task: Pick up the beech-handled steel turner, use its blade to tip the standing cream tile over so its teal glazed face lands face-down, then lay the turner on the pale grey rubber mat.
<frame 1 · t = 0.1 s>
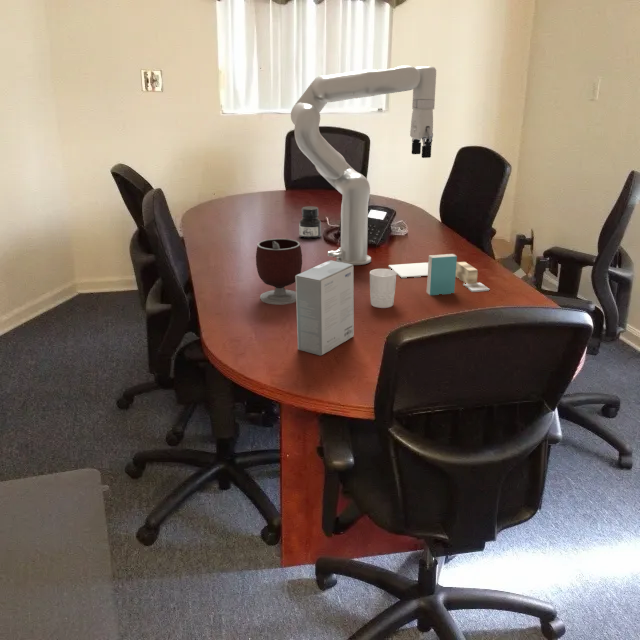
hand: (421, 155, 236), 37 cm above the table, tool pointing down, fingers open, 9 cm apart
white cup: (382, 305, 201), on the table
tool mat: (427, 270, 233), on the table
ink bottle: (310, 237, 278), on the table
hard drive box: (326, 343, 173), on the table
turner: (465, 280, 222), on the table
mate gourd: (279, 299, 206), on the table
tile: (440, 292, 210), on the table
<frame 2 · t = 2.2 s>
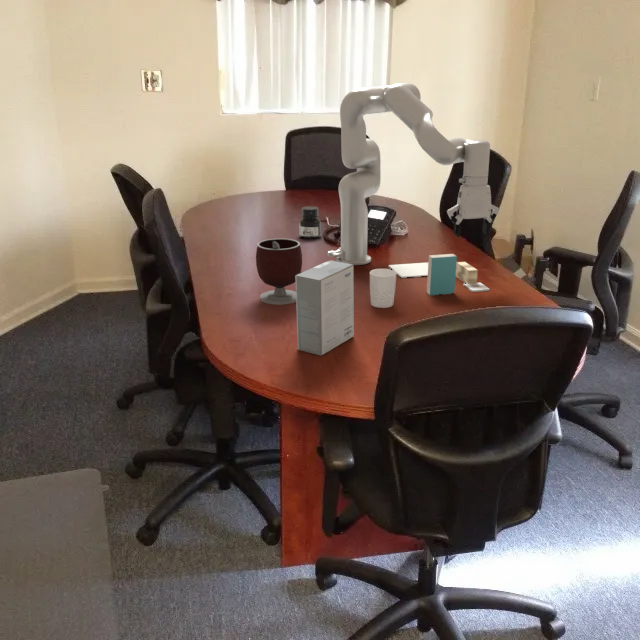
hand: (471, 235, 215), 16 cm above the table, tool pointing down, fingers open, 9 cm apart
nothing on the table moved.
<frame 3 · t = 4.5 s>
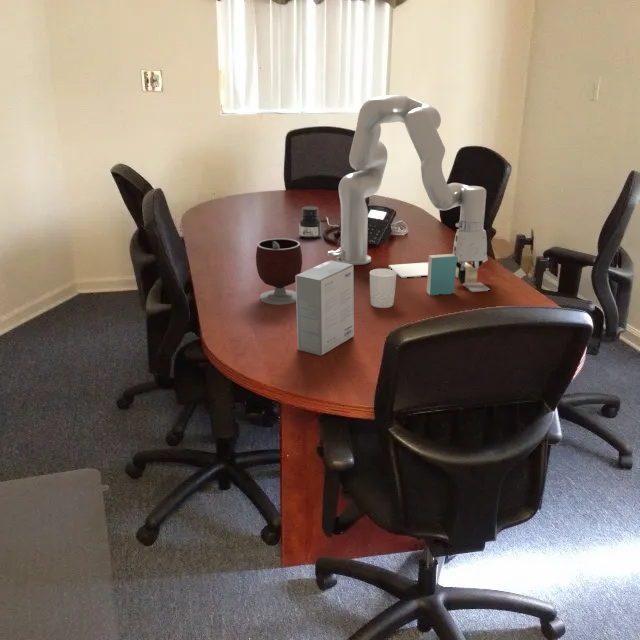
hand: (467, 280, 221), 0 cm above the table, tool pointing down, fingers closed on turner, 3 cm apart
turner: (465, 280, 222), on the table, touching gripper
everything else where it was.
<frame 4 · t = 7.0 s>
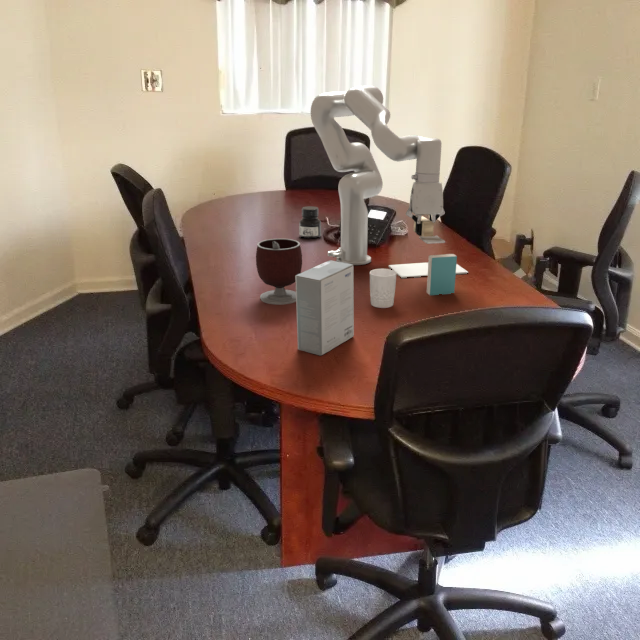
hand: (424, 234, 220), 15 cm above the table, tool pointing down, fingers closed on turner, 3 cm apart
turner: (423, 234, 221), point 14 cm above the table, touching gripper
everything else where it was.
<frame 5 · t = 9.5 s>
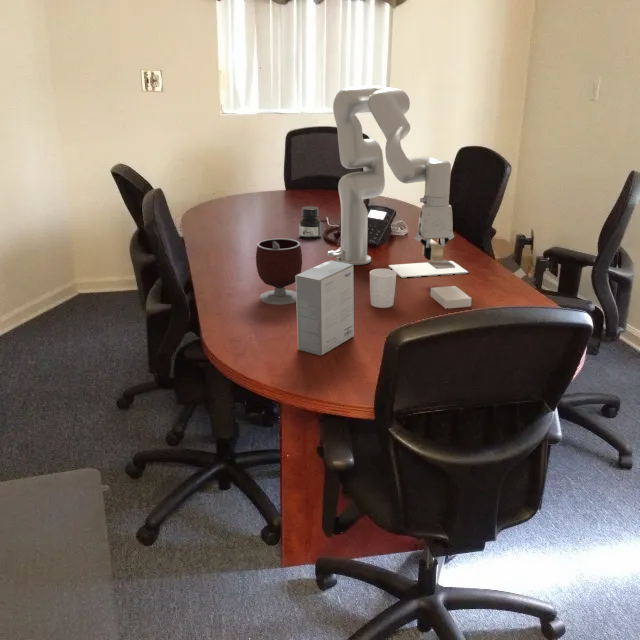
hand: (433, 258, 214), 9 cm above the table, tool pointing down, fingers closed on turner, 3 cm apart
turner: (431, 258, 215), point 9 cm above the table, touching gripper
tile: (442, 291, 208), point 1 cm above the table, tilted 90°
everything else where it was.
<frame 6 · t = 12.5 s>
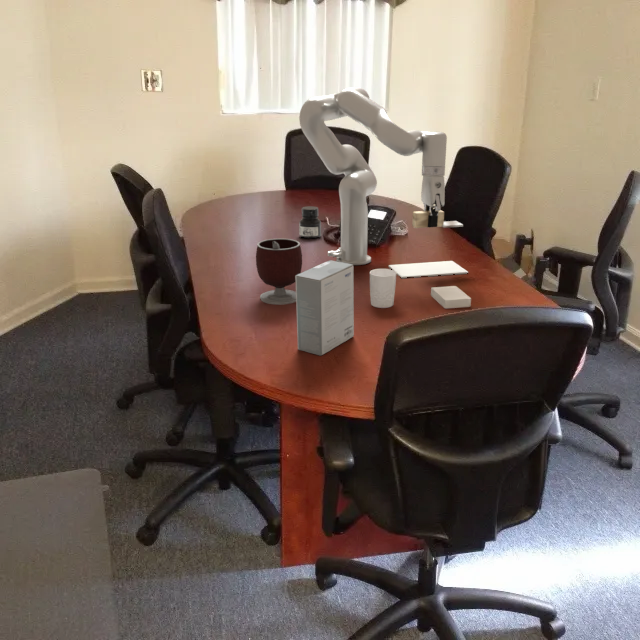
hand: (430, 225, 228), 16 cm above the table, tool pointing down, fingers closed on turner, 3 cm apart
turner: (427, 226, 227), point 16 cm above the table, touching gripper
everything else where it was.
when the fingers open (2 cm above the table, at t = 15.0 s): turner drops 2 cm, resting on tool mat.
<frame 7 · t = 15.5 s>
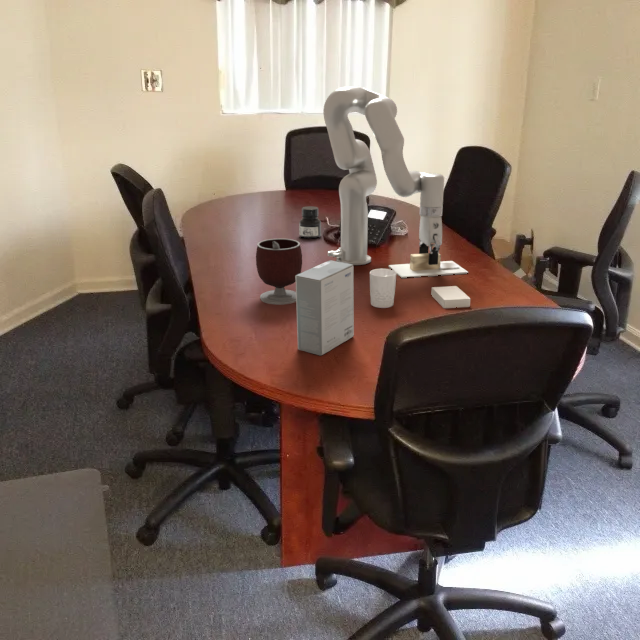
hand: (428, 260, 232), 3 cm above the table, tool pointing down, fingers open, 8 cm apart
turner: (424, 268, 233), point 1 cm above the table, touching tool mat
everything else where it was.
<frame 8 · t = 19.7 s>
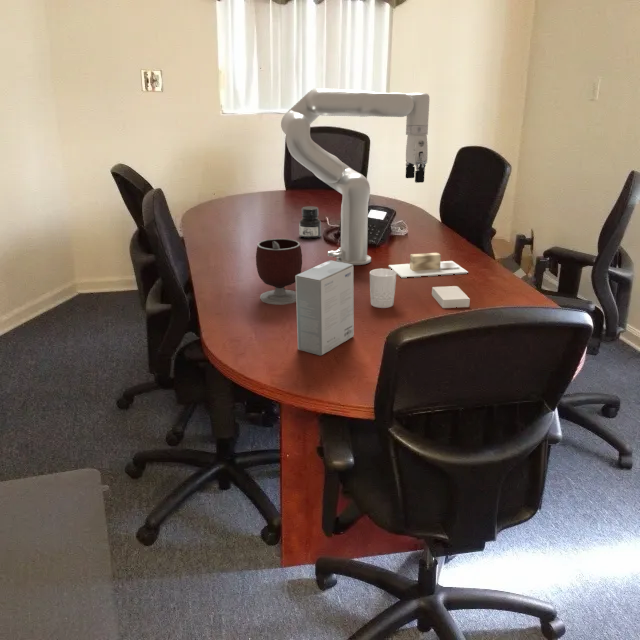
hand: (414, 180, 239), 28 cm above the table, tool pointing down, fingers open, 9 cm apart
nothing on the table moved.
at the end: tile tilted 90°; tile inside the target area (1.1 cm from its centre), point 1.0 cm above the table; turner inside the target area on the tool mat (1.0 cm from its centre), point 0.6 cm above the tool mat's base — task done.
